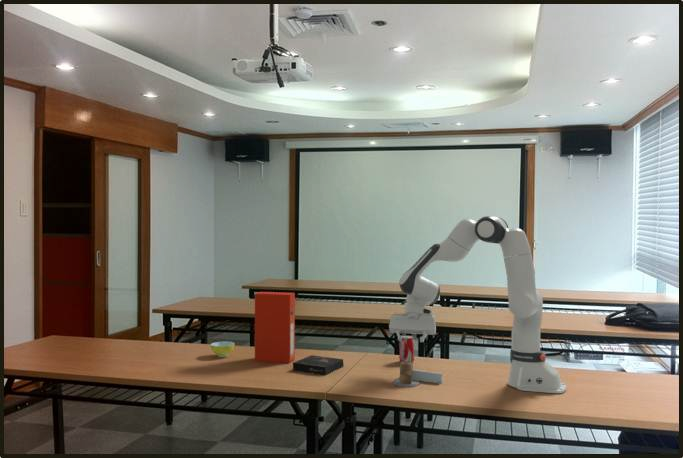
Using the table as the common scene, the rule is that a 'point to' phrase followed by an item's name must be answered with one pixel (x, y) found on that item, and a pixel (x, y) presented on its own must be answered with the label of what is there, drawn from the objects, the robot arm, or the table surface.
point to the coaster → (413, 384)
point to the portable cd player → (318, 365)
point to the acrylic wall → (427, 376)
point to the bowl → (222, 348)
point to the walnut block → (406, 372)
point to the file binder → (275, 327)
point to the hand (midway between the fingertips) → (410, 340)
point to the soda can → (406, 349)
